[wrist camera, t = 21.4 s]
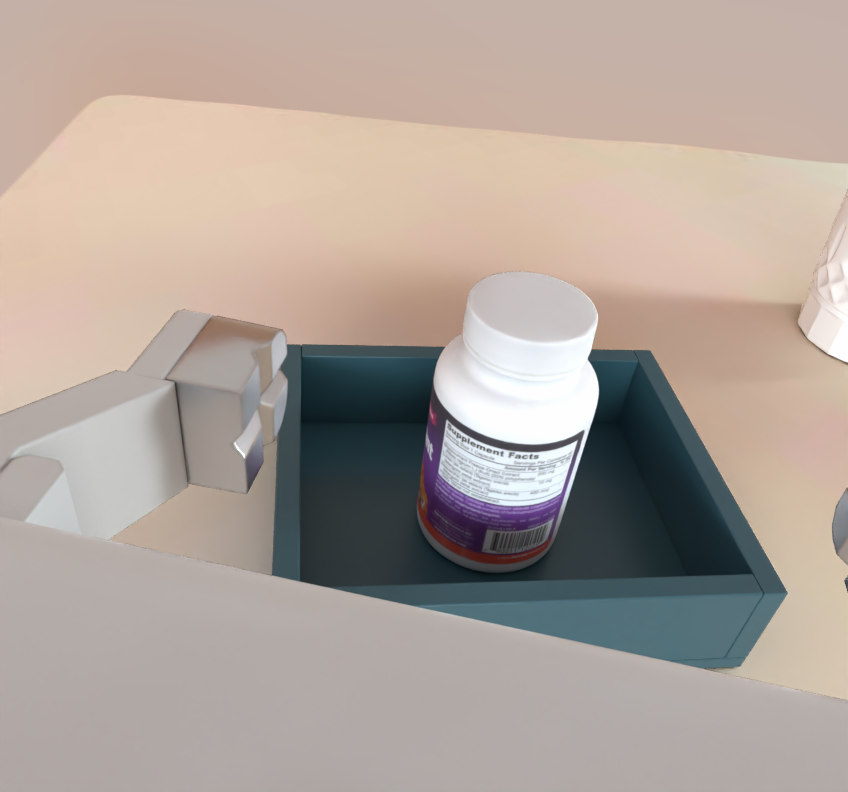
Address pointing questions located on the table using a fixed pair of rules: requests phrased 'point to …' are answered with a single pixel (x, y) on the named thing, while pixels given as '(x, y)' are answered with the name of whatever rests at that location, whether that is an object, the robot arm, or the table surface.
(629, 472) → the tote
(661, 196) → the table surface
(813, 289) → the white cup
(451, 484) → the pill bottle
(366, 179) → the table surface
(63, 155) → the table surface
